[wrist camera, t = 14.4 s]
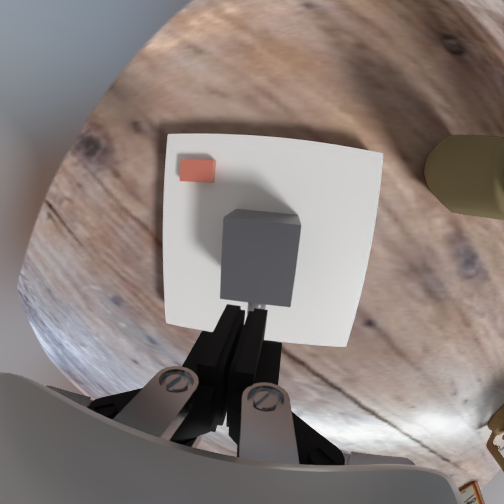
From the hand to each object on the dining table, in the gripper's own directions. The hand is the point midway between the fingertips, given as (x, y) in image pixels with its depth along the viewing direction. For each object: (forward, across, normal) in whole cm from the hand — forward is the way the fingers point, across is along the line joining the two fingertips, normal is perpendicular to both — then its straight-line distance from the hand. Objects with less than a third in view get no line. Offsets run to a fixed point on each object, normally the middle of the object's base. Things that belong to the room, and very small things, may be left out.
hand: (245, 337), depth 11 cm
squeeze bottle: (+18, -18, -10) cm, 28 cm away
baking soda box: (+20, -93, +90) cm, 131 cm away
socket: (+18, +1, 0) cm, 18 cm away
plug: (+18, +1, +1) cm, 18 cm away
